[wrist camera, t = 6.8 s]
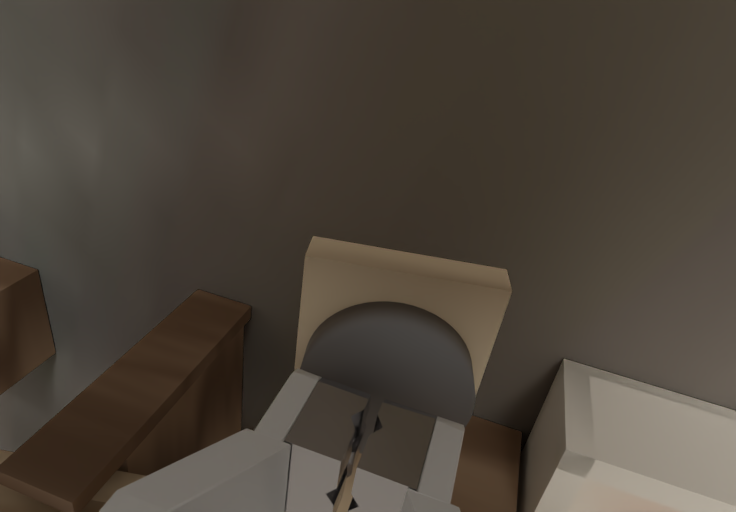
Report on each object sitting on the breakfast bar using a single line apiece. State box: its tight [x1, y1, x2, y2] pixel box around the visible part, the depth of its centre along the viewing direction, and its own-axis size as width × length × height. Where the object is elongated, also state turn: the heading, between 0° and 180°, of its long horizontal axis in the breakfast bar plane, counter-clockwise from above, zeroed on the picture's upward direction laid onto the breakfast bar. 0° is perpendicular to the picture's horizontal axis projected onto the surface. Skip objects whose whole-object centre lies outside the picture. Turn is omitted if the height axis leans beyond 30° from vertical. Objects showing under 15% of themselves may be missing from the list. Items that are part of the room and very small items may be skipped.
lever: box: [0, 236, 512, 512], centre depth 13 cm, size 15×24×4 cm, turn 81°
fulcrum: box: [0, 257, 522, 512], centre depth 19 cm, size 9×25×9 cm, turn 81°
